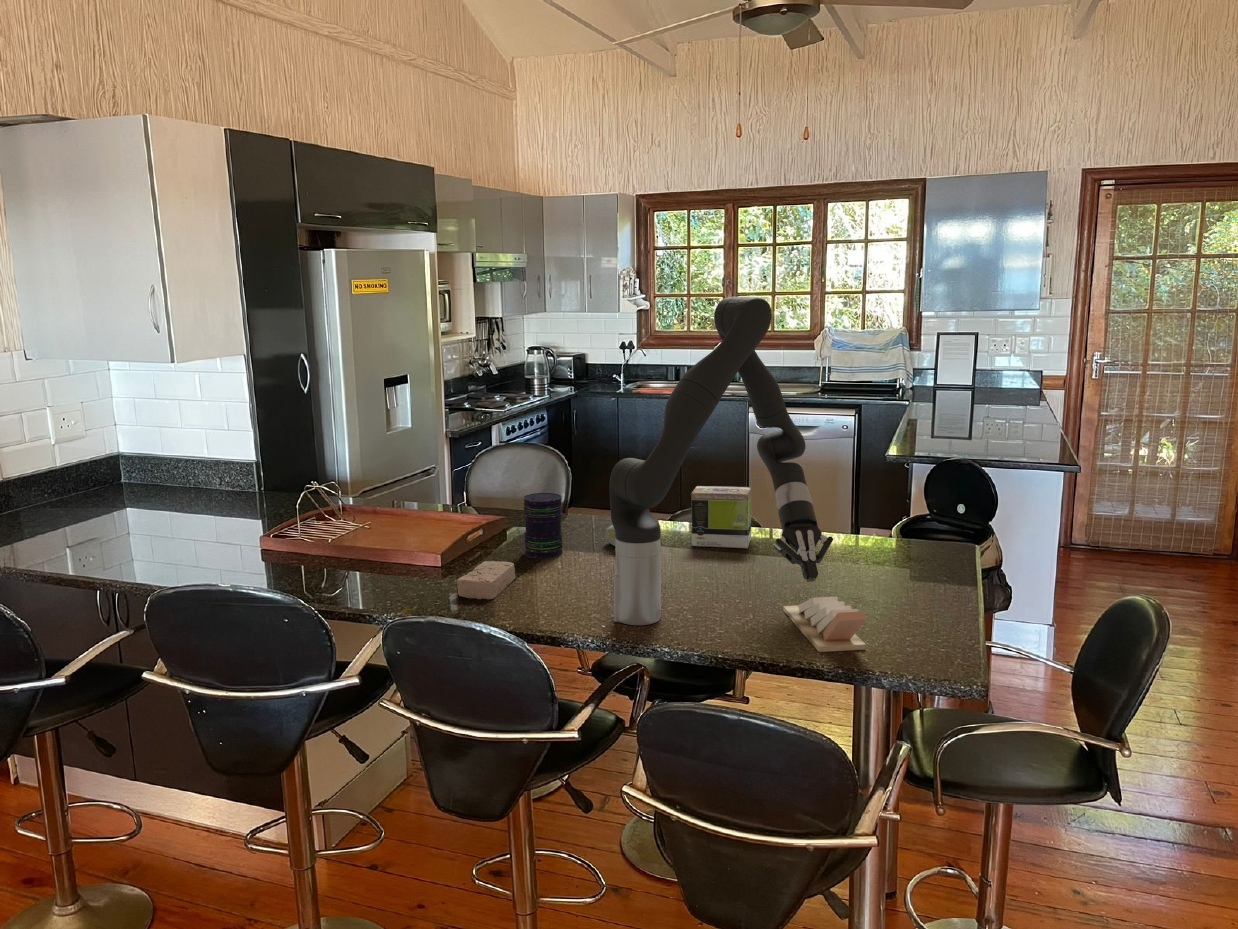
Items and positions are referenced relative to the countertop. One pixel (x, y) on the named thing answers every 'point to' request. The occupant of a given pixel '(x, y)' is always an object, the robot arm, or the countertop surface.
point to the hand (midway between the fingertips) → (811, 580)
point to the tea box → (721, 516)
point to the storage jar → (543, 525)
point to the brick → (486, 580)
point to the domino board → (818, 639)
